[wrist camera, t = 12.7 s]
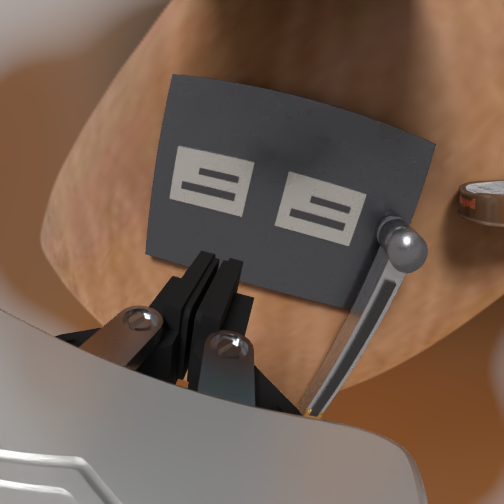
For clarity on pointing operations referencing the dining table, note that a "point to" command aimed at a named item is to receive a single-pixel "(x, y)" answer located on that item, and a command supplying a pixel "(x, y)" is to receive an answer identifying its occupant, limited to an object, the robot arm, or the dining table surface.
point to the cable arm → (366, 311)
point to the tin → (482, 202)
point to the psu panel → (279, 186)
